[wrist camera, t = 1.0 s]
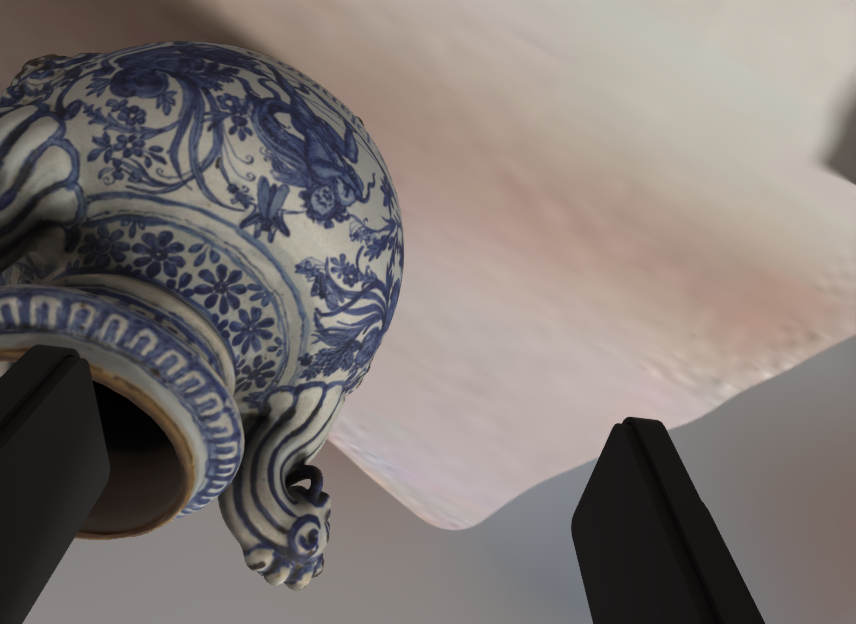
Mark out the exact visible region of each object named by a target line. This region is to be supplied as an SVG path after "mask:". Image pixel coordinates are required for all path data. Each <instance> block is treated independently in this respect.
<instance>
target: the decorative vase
mask: <svg viewBox="0 0 856 624" xmlns="http://www.w3.org/2000/svg"><path fill="white" fill-rule="evenodd" d="M403 265H404V237H403V226H402V217H401V211H400V207H399V202H398V197H397V193H396V190H395V188H394V185H393V182H392V179H391V176H390V173H389V171H388V168H387V166H386V164H385V162H384V160H383V157H382V155H381V153H380V152H379V150H378V148H377V146H376V144H375V143H374V141H373V140H372V138H371V137H370V135H369V134H368V132H367V131H366V129H365V128H364V124H363V122H362V120H361V119H360V118H359V117H357V116H355V115H354V114H353V113H352V112H351V111H350V110H349V109H348V108H347V107H346V106H345V105H344V104H343V103H342V102H341V101H340V100H338V99H337V98H336V97H335V96H334V95H333V94H331V93H330V92H329V91H328V90H326V89H325V88H324V87H322V86H321V85H319V84H318V83H316V82H315V81H313V80H312V79H310V78H309V77H307V76H306V75H304V74H302V73H301V72H299V71H297V70H296V69H294V68H292V67H290V66H288V65H286V64H284V63H282V62H280V61H278V60H276V59H273V58H271V57H269V56H266V55H263V54H261V53H258V52H255V51H252V50H249V49H245V48H241V47H237V46H233V45H226V44H219V43H211V42H197V41H176V42H159V43H151V44H144V45H139V46H134V47H129V48H125V49H121V50H118V51H114V52H111V53H81V54H78V55H77V56H75V57H66V56H57V55H54V54H52V55H46V56H43V57H40V58H36V59H33V60H30V61H28V62H27V63H25V65H24V66H23V68H22V71H21V72H20V73H18V74H17V75H16V76H15V77H14V79H13V81H12V83H11V85H10V87H8V88H7V89H5V90H4V91H3V93H2V94H1V96H0V377H1V376H2V375H3V374H4V373H5V372H6V371H7V370H8V369H9V368H10V367H11V366H12V365H13V364H14V363H15V362H16V361H17V360H18V359H20V358H21V357H22V356H23V355H24V354H25V353H26V352H27V351H28V350H29V349H30V348H31V347H33V346H34V345H38V344H41V345H49V346H58V347H66V348H73V349H76V350H77V352H78V353H79V355H80V358H84V359H86V360H87V361H88V363H89V366H90V371H91V376H92V381H93V386H94V390H95V395H96V400H97V405H98V410H99V415H100V420H101V425H102V430H103V435H104V439H105V444H106V449H107V454H108V459H109V464H110V474H109V478H108V481H107V484H106V486H105V488H104V490H103V491H102V493H101V495H100V496H99V498H98V500H97V501H96V503H95V505H94V506H93V508H92V510H91V511H90V513H89V514H88V516H87V518H86V519H85V521H84V523H83V524H82V526H81V528H80V529H79V531H78V533H77V534H76V536H75V537H74V538H78V539H88V540H92V539H93V540H110V539H117V538H125V537H135V536H139V535H143V534H146V533H149V532H151V531H153V530H155V529H157V528H159V527H162V526H163V525H165V524H167V523H168V522H170V521H171V520H174V519H177V518H180V517H183V516H186V515H189V514H191V513H193V512H195V511H197V510H199V509H201V508H203V507H205V506H206V505H207V504H209V503H210V502H212V501H213V500H214V499H216V498H217V497H218V501H219V507H220V510H221V514H222V517H223V519H224V521H225V523H226V525H227V527H228V528H229V530H230V531H231V533H232V535H233V536H234V537H235V539H236V540H237V541H238V542H239V543H240V546H241V548H242V549H243V554H244V558H245V562H246V564H247V566H248V567H249V568H250V569H251V570H253V571H257V572H258V573H259V574H260V575H261V576H264V578H265V580H266V581H267V582H268V583H269V584H271V585H279V584H281V583H283V582H284V583H285V584H286V585H287V586H288V587H289V588H290V589H292V590H301V589H302V588H304V587H306V585H307V584H308V583H309V581H310V579H311V578H313V577H317V576H318V575H319V574H320V573H321V572H322V570H323V564H324V559H323V551H324V548H325V546H326V545H327V543H328V540H329V530H330V524H329V522H328V521H329V519H330V515H331V512H330V506H331V498H330V497H329V495H328V494H327V493H324V492H322V491H321V490H322V486H323V476H322V473H321V471H320V470H319V469H318V468H317V467H315V466H312V465H306V464H307V463H309V462H310V461H311V460H312V459H313V458H314V457H315V456H316V454H317V453H318V452H319V451H320V449H321V447H322V446H323V444H324V442H325V441H326V439H327V436H328V434H329V432H330V430H331V428H332V426H333V424H334V422H335V420H336V418H337V416H338V414H339V413H340V411H341V409H342V407H343V405H344V401H345V396H347V395H349V394H350V393H352V392H353V391H354V390H355V389H356V388H358V386H359V385H360V384H361V382H362V380H363V377H364V375H365V374H366V373H367V372H368V371H369V369H370V364H371V362H372V360H373V357H374V355H375V353H376V351H377V349H378V348H379V346H380V344H381V342H382V340H383V338H384V336H385V334H386V332H387V330H388V328H389V325H390V323H391V320H392V317H393V315H394V312H395V308H396V305H397V301H398V297H399V292H400V287H401V282H402V274H403ZM304 479H310V480H311V486H310V488H309V489H306V488H305V487H303V486H298V485H297V486H292V485H293V484H295V483H297V482H299V481H301V480H304ZM290 486H291V487H290Z"/></svg>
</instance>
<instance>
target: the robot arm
mask: <svg viewBox="0 0 856 624" xmlns="http://www.w3.org/2000/svg"><path fill="white" fill-rule="evenodd" d="M109 474H110V464H109V459H108V454H107V449H106V444H105V439H104V435H103V430H102V425H101V420H100V415H99V410H98V405H97V400H96V395H95V390H94V386H93V381H92V376H91V371H90V366H89V363H88V361H87V360H86V359H84V358H80V355H79V353H78V352H77V350H76V349H73V348H66V347H58V346H49V345H41V344H38V345H34V346H33V347H31V348H30V349H29V350H28V351H27V352H26V353H25V354H24V355H23V356H22V357H21V358H20V359H18V360H17V361H16V362H15V363H14V364H13V365H12V366H11V367H10V368H9V369H8V370H7V371H6V372H5V373H4V374H3V375H2V376H1V377H0V624H22V623H23V621H24V620H25V618H26V616H27V615H28V613H29V612H30V610H31V608H32V606H33V605H34V603H35V601H36V600H37V598H38V597H39V595H40V593H41V592H42V590H43V588H44V587H45V585H46V583H47V582H48V580H49V579H50V577H51V575H52V574H53V572H54V570H55V569H56V567H57V565H58V564H59V562H60V560H61V559H62V557H63V555H64V554H65V552H66V551H67V549H68V547H69V546H70V544H71V542H72V541H73V539H74V537H75V536H76V534H77V533H78V531H79V529H80V528H81V526H82V524H83V523H84V521H85V519H86V518H87V516H88V514H89V513H90V511H91V510H92V508H93V506H94V505H95V503H96V501H97V500H98V498H99V496H100V495H101V493H102V491H103V490H104V488H105V486H106V484H107V481H108V478H109ZM571 530H572V531H571V532H572V538H573V542H574V546H575V550H576V555H577V559H578V562H579V567H580V571H581V575H582V579H583V583H584V587H585V591H586V596H587V600H588V604H589V608H590V612H591V616H592V620H593V624H765V622H764V620H763V618H762V616H761V614H760V612H759V610H758V609H757V606H756V604H755V602H754V600H753V598H752V596H751V594H750V592H749V590H748V588H747V586H746V584H745V582H744V580H743V578H742V576H741V574H740V572H739V570H738V568H737V566H736V564H735V562H734V560H733V558H732V556H731V554H730V552H729V550H728V548H727V546H726V545H725V542H724V540H723V538H722V537H721V534H720V532H719V530H718V528H717V526H716V524H715V522H714V520H713V518H712V517H711V514H710V512H709V510H708V509H707V508H706V506H705V504H704V503H703V502H702V501H701V499H700V497H699V495H698V493H697V491H696V489H695V487H694V485H693V483H692V481H691V479H690V477H689V475H688V473H687V471H686V469H685V467H684V465H683V463H682V461H681V459H680V457H679V455H678V452H677V451H676V448H675V446H674V444H673V442H672V440H671V438H670V436H669V434H668V432H667V430H666V428H665V426H664V425H663V423H662V422H660V421H659V420H652V419H644V418H636V417H627V418H626V419H624V421H623V422H622V424H619V423H617V424H615V425H614V427H613V428H612V430H611V433H610V435H609V437H608V439H607V441H606V444H605V446H604V448H603V450H602V453H601V455H600V457H599V459H598V461H597V464H596V466H595V468H594V470H593V472H592V475H591V477H590V479H589V481H588V484H587V486H586V488H585V490H584V493H583V495H582V497H581V499H580V501H579V504H578V506H577V508H576V510H575V512H574V515H573V518H572V525H571Z"/></svg>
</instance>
